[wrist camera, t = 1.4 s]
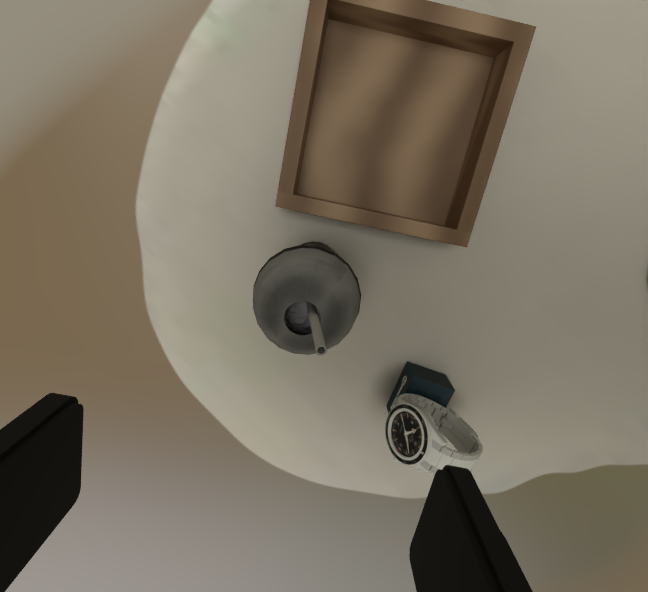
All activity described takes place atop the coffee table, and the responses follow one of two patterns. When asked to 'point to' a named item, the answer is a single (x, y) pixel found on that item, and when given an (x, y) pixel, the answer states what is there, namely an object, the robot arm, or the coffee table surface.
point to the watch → (428, 423)
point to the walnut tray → (400, 114)
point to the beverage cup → (306, 299)
